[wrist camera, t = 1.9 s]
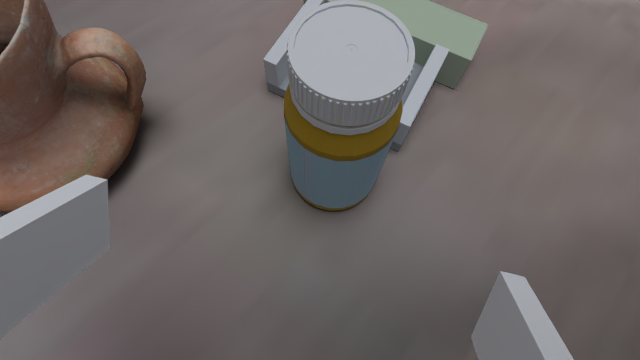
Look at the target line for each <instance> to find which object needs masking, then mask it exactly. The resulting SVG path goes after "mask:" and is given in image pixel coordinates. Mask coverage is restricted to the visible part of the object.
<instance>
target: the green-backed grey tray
mask: <svg viewBox="0 0 640 360" xmlns="http://www.w3.org/2000/svg"><path fill="white" fill-rule="evenodd" d="M332 1H338V0H304V5H303V7H302V8H301V9H300V11H299V12H298V13H297V15H296V16H295V17H294V19H293V20H292V22H291V23H290V24H289V26H288V27H287V28H286V30H285V31H284V32H283V34H282V35H281V36H280V38H279V39H278V40H277V42H276V43H275V44H274V46H273V47H272V48H271V50H270V51H269V52H268V54H267V55H266V56H265V58H264V59H263V61H264V67H265V73H266V79H267V85H268V90H269V91H271V92H273V93H275V94H277V95H280V96H282V97H284V96H285V92H286V89H287V87H288V84H289V78H288V66H287V42H288V38H289V36H290V33H291V31H292V29H293V27H294V25H295V24H296V22H297V21H298V20H299V19H300V18H301V17H302V16H303V15H304V14H305V13H307V12H308V11H310V10H311V9H313V8H315V7H317V6H319V5H322V4H324V3H328V2H332ZM358 1H364V2H368V3H372V4H375V5H377V6H380V7H382V8H384V9H386V10H388V11H389V12H391V13H392V14H394V15H395V16H396V17H397V18H398V19H399V20H400V21H401V22H402V23H403V24H404V25H405V26H406V28H407V29H408V31H409V32H410V34H411V36H412V39H413V42H414V47H415V60H414V62H415V64H414V67H413V71H412V74H411V76H410V79H409V82H408V84H407V87H406V89H405V92H404V94H403V97H402V98H401V99H402V106H403V112H402V116H401V120H400V124H399V127H398V130H397V133H396V135H395V137H394V140H393V142H392V144H391V147H390V148H391V149H393V150H396V151H399V149H400V147H401V145H402V143H403V141H404V139H405V137H406V135H407V133H408V131H409V130H410V128H411V126H412V124H413V122H414V120H415V118H416V116H417V114H418V112H419V110H420V108H421V106H422V104H423V102H424V100H425V98H426V96H427V94H428V92H429V90H430V88H431V86H432V84H433V82H434V81H436V82H438V83H441V84H443V85H445V86H448V87H450V88H452V89H455V87H456V86H457V84H458V82H459V81H460V79H461V77H462V76H463V74H464V72H465V70H466V69H467V67H468V65H469V64H470V62H471V60H472V58H473V56H474V54H475V52H476V50H477V47H478V45H479V43H480V41H481V39H482V37H483V35H484V33H485V31H486V29H487V26H488V24H486V23H483V22H481V21H478V20H476V19H473V18H471V17H468V16H466V15H463V14H461V13H458V12H456V11H453V10H451V9H448V8H446V7H443V6H441V5H438V4H436V3H433V2H431V1H428V0H358Z"/></svg>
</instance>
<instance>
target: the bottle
mask: <svg viewBox="0 0 640 360" xmlns="http://www.w3.org/2000/svg"><path fill="white" fill-rule="evenodd" d="M414 60H415V47H414V42H413V39H412V36H411V34H410V32H409V31H408V29H407V28H406V26H405V25H404V24H403V23H402V22H401V21H400V20H399V19H398V18H397V17H396V16H395V15H394V14H392V13H391V12H389V11H388V10H386V9H384V8H382V7H380V6H377V5H375V4H372V3H368V2H364V1H358V0H338V1H332V2H328V3H324V4H322V5H319V6H317V7H315V8H313V9H311V10H310V11H308V12H307V13H305V14H304V15H303V16H302V17H301V18H300V19H299V20H298V21H297V22H296V24H295V25H294V27H293V29H292V31H291V33H290V36H289V38H288V42H287V66H288V78H289V84H288V87H287V89H286V92H285V96H284V118H285V127H286V136H287V146H288V155H289V164H290V173H291V177H292V181H293V184H294V186H295V189H296V190H297V192H298V193H299V194H300V195H301V197H302V198H303V199H304V200H305V201H307V202H309V203H310V204H312V205H313V206H315V207H318V208H321V209H325V210H330V211H332V210H345V209H348V208H350V207H353V206H355V205H357V204H358V203H360V202H361V201H362V200H364V199H365V198H366V197H367V195H368V194H369V192H370V191H371V189H372V188H373V186H374V184H375V182H376V179H377V177H378V175H379V172H380V170H381V168H382V165H383V163H384V161H385V158H386V156H387V154H388V151H389V149H390V147H391V144H392V142H393V140H394V137H395V135H396V133H397V130H398V127H399V124H400V120H401V116H402V112H403V106H402V99H401V98H402V97H403V94H404V92H405V89H406V87H407V84H408V82H409V79H410V76H411V74H412V71H413V67H414V64H415V62H414Z"/></svg>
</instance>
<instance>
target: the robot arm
mask: <svg viewBox="0 0 640 360" xmlns="http://www.w3.org/2000/svg"><path fill="white" fill-rule="evenodd" d="M109 249H110V231H109V205H108V180H107V179H103V178H99V177H94V176H90V175H84V176H82V177H80V178H78V179H76V180H74V181H72V182H70V183H68V184H66V185H64V186H62V187H60V188H58V189H56V190H54V191H52V192H50V193H48V194H46V195H44V196H42V197H40V198H38V199H36V200H34V201H32V202H30V203H28V204H26V205H24V206H22V207H20V208H18V209H16V210H14V211H12V212H10V213H8V214H6V215H4V216H2V217H0V338H1V337H3V336H4V335H5V334H6V333H7V332H9V331H10V330H11V329H12V328H14V327H15V326H16V325H17V324H18V323H20V322H21V321H22V320H23V319H25V318H26V317H27V316H28V315H29V314H31V313H32V312H33V311H34V310H36V309H37V308H38V307H39V306H40V305H42V304H43V303H44V302H45V301H47V300H48V299H49V298H50V297H51V296H53V295H54V294H55V293H56V292H58V291H59V290H60V289H61V288H62V287H64V286H65V285H66V284H67V283H68V282H70V281H71V280H72V279H73V278H75V277H76V276H77V275H78V274H79V273H81V272H82V271H83V270H84V269H86V268H87V267H88V266H89V265H90V264H92V263H93V262H94V261H95V260H97V259H98V258H99V257H100V256H101V255H103V254H104V253H105V252H106V251H108V250H109ZM471 338H472V342H473V345H474V348H475V352H476V355H477V358H478V360H574V359H573V357H572V356H571V354H570V352H569V351H568V349H567V347H566V346H565V344H564V342H563V341H562V339H561V337H560V336H559V334H558V332H557V331H556V329H555V327H554V325H553V324H552V322H551V320H550V319H549V317H548V315H547V314H546V312H545V310H544V309H543V307H542V305H541V304H540V302H539V300H538V299H537V297H536V295H535V293H534V292H533V290H532V288H531V287H530V285H529V283H528V282H527V280H526V278H525V277H523V276H519V275H515V274H510V273H506V272H502V271H500V273H499V275H498V277H497V279H496V281H495V284H494V286H493V288H492V290H491V293H490V295H489V297H488V299H487V302H486V304H485V306H484V308H483V311H482V313H481V315H480V317H479V320H478V322H477V324H476V326H475V329H474V331H473V333H472V335H471Z"/></svg>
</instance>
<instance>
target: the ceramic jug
mask: <svg viewBox="0 0 640 360" xmlns="http://www.w3.org/2000/svg"><path fill="white" fill-rule="evenodd" d="M108 59H109V60H108ZM110 60H111V61H113V62H115V63H116V64H118V65H119V66H120V67H121V69H122V70H123V71H124V73H125V75H124V73H123V72H122V71H121V70H120V69H119V68H118V67H117V66H116V65H115V64H113V63H112V62H111V61H110ZM145 76H146V72H145V69H144V65H143V63H142V61H141V59H140V57H139V55H138V54H137V52H136V51H135V50H134V49H133V48H132V46H131V45H130V44H129V43H128V42H126V41H125V40H124V39H123V38H121V37H120V36H119V35H117V34H115V33H114V32H112V31H109V30H106V29H102V28H86V29H80V30H76V31H73V32H71V33H69V34H67V35H66V36H65V37H64V38H63V37H62V36H60V35H59V34H58V33H57V31H56V29H55V26H54V23H53V21H52V18H51V16H50V14H49V11H48V9H47V6H46V4H45V2H44V0H0V211H3V212H12V211H14V210H16V209H18V208H20V207H22V206H24V205H26V204H28V203H30V202H32V201H34V200H36V199H38V198H40V197H42V196H44V195H46V194H48V193H50V192H52V191H54V190H56V189H58V188H60V187H62V186H64V185H66V184H68V183H70V182H72V181H74V180H76V179H78V178H80V177H82V176H84V175H90V176H94V177H99V178H103V179H107V180H108V179H109V178H110V177H111V176H112V175H113V174H114V173H115V172H116V170H117V169H118V168H119V167H120V166H121V164H122V163H123V162H124V160H125V159H126V157H127V155H128V154H129V152H130V150H131V148H132V145H133V143H134V140H135V137H136V134H137V129H138V125H139V121H140V115H141V112H142V108H143V101H142V99H141V94H142V91H143V88H144V85H145V81H146V77H145Z"/></svg>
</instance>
